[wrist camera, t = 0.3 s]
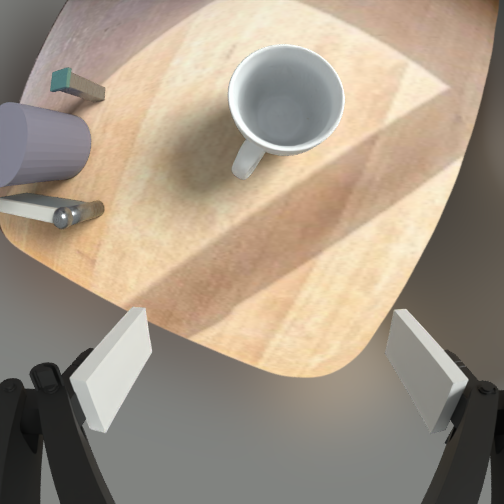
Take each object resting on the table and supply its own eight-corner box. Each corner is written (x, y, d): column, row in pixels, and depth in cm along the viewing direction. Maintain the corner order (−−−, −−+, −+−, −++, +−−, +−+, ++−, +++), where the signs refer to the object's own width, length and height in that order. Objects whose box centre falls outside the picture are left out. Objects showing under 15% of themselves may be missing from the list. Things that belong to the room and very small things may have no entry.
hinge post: (89, 199, 41) (47, 208, 31) (105, 198, 41) (63, 207, 31) (90, 217, 42) (49, 231, 32) (106, 217, 42) (65, 231, 32)
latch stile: (93, 88, 37) (52, 72, 27) (107, 85, 37) (68, 67, 27) (91, 104, 38) (50, 91, 27) (105, 101, 38) (65, 86, 27)
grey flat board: (89, 201, 41) (54, 209, 32) (88, 213, 42) (53, 223, 33) (27, 191, 41) (-9, 197, 32) (26, 202, 41) (-9, 209, 33)
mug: (277, 199, 41) (282, 211, 28) (206, 155, 39) (181, 148, 27) (336, 109, 37) (366, 84, 25) (266, 67, 36) (267, 25, 23)
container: (43, 123, 38) (-21, 116, 24) (91, 108, 38) (29, 90, 23) (45, 184, 41) (-20, 193, 27) (94, 174, 41) (29, 179, 26)
